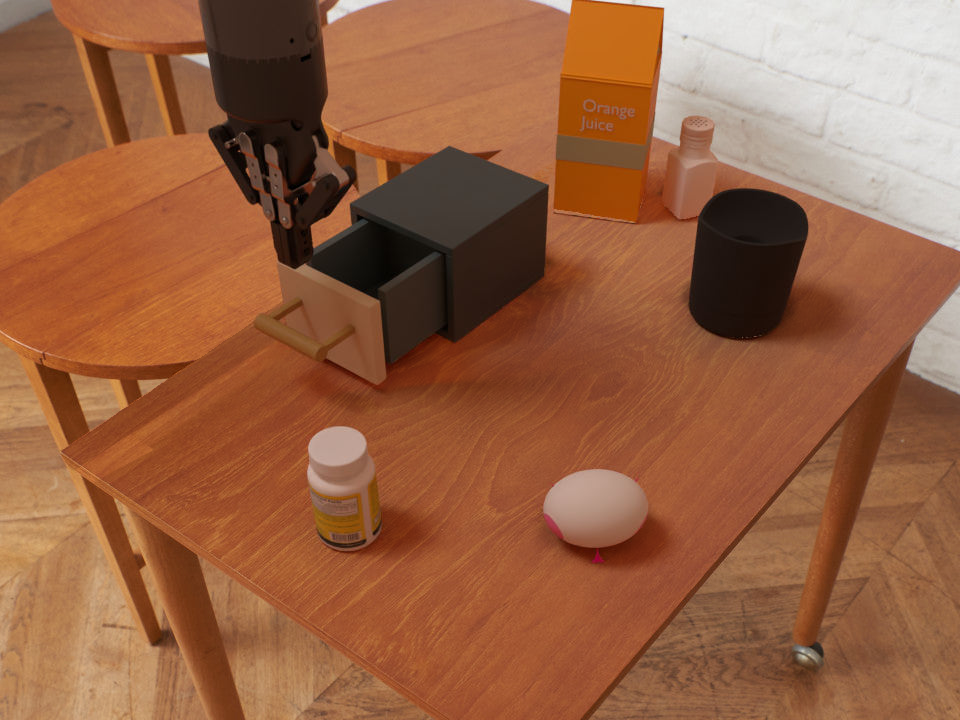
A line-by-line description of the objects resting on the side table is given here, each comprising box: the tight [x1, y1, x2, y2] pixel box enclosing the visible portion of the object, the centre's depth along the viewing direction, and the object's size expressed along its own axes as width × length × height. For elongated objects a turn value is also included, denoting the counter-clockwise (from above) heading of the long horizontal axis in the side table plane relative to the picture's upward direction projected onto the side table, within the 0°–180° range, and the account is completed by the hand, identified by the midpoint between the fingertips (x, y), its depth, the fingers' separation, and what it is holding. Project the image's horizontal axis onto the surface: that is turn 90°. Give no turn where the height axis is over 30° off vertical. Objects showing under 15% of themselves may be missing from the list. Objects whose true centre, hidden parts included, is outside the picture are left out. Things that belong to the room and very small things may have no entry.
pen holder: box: [688, 187, 809, 339], centre depth 93 cm, size 9×9×10 cm
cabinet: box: [349, 145, 550, 344], centre depth 96 cm, size 14×12×10 cm
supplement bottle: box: [306, 425, 383, 552], centre depth 74 cm, size 5×5×8 cm
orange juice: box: [553, 0, 665, 222], centre depth 103 cm, size 8×9×20 cm
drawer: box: [253, 218, 448, 386], centre depth 89 cm, size 17×10×8 cm, turn 143°
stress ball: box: [542, 468, 650, 564], centre depth 76 cm, size 8×8×7 cm
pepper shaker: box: [661, 115, 719, 220], centre depth 106 cm, size 4×4×10 cm
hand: (295, 261), depth 80 cm, fingers closed
